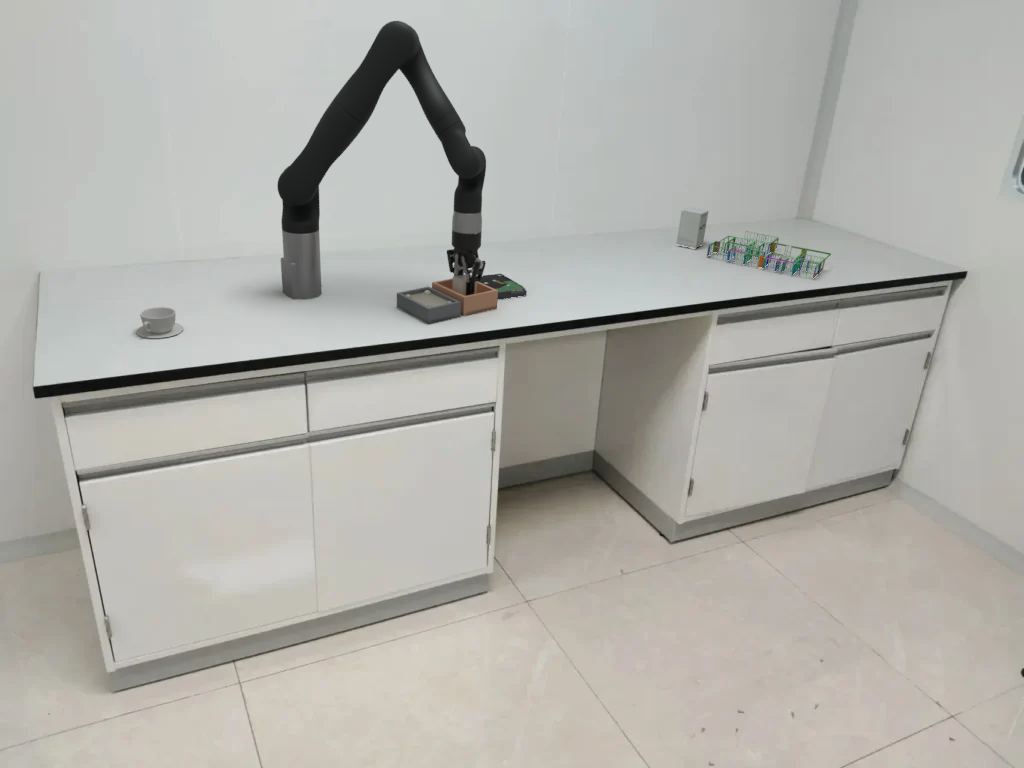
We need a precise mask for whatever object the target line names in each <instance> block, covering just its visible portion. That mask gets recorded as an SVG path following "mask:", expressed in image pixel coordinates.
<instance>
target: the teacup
mask: <svg viewBox="0 0 1024 768" xmlns="http://www.w3.org/2000/svg"><path fill="white" fill-rule="evenodd" d="M139 316H140V319H141V322H142V326H140V327H138V328H137V330H135V331H136V332H135V333H136V335H138V336H140V337H143V338H147V339H164V338H168V337H173V336H176V335H178V334H180V333H182V332H183V331H184V326H183V325H182V324H180V323H177V322H176V310H175V309H173V308H170V307H164V306H161V307H160V306H158V307H157V306H156V307H150V308H146V309H144V310H142V311H140V313H139Z"/></svg>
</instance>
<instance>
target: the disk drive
mask: <svg viewBox="0 0 1024 768" xmlns="http://www.w3.org/2000/svg"><path fill="white" fill-rule="evenodd" d="M478 282H480V283H482V284H485V285H487V286H489V287H491V288H494V289H496V290H498V299H501V300H507V299H506V298H508V299H512V298H511V297H516V298H519V297H518V296H523V297H525V296H524V295H526V296H527V292H528V291H527V290H526V288H525V287H524V286H523V285H521V284H520V283H518V282H516V281H514V280H513V279H511V278H509V277H508V276H506V275H504V274H502V273H495V274H485V275H484V274H483V275H482V278H481V280H480V281H478ZM504 298H505V299H504ZM498 299H497V301H499V300H498Z"/></svg>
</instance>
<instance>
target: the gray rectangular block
mask: <svg viewBox="0 0 1024 768" xmlns="http://www.w3.org/2000/svg"><path fill="white" fill-rule="evenodd" d="M471 276H472V274H470V277H471ZM452 278H453V286H452V290H453V291H455V292H457V293H459V294H461V295H464V296H467V295H466V282H467V280H466V274H465V273H464V275H459V276H454V275H453V276H452ZM474 294H477V281H476V282H475V292H474Z"/></svg>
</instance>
